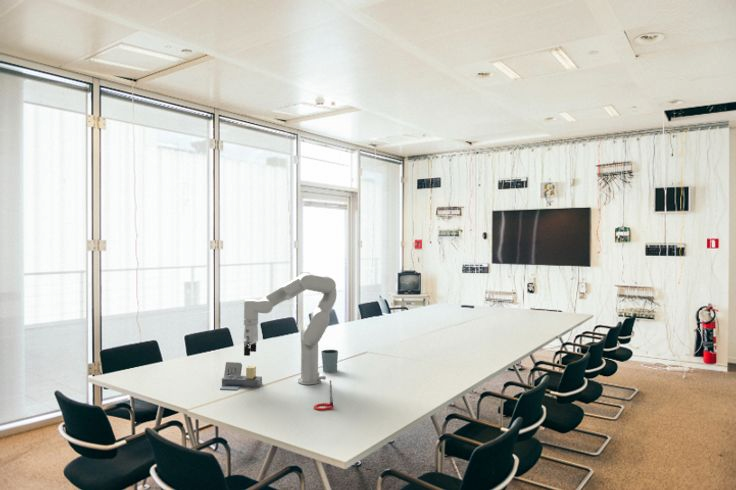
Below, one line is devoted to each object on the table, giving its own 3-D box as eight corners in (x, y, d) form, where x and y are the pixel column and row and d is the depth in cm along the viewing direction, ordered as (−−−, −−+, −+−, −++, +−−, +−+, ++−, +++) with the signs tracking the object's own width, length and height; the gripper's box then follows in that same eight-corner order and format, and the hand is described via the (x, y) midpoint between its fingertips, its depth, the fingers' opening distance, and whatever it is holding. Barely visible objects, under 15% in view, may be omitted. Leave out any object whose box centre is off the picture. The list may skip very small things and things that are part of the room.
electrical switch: (223, 379, 280) (224, 362, 280) (227, 377, 285) (228, 361, 285) (238, 380, 278) (239, 363, 279) (242, 378, 283) (243, 362, 284)
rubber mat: (240, 387, 263) (240, 386, 263) (236, 390, 258) (236, 389, 258) (223, 386, 264) (223, 385, 264) (220, 389, 259) (220, 388, 259)
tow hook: (313, 412, 228) (333, 410, 229) (312, 384, 228) (332, 382, 228) (313, 406, 236) (333, 404, 237) (312, 379, 236) (332, 378, 237)
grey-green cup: (335, 373, 292) (335, 353, 292) (319, 372, 294) (319, 352, 294) (339, 369, 302) (339, 349, 302) (324, 368, 304) (324, 348, 304)
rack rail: (262, 383, 270) (262, 376, 270) (257, 387, 263) (257, 380, 263) (226, 382, 272) (226, 375, 272) (221, 386, 266) (221, 378, 265)
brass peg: (255, 384, 269) (255, 366, 269) (253, 386, 265) (253, 368, 265) (248, 384, 270) (248, 366, 270) (246, 386, 266) (246, 367, 266)
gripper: (252, 325, 258) (251, 357, 258) (262, 320, 275) (261, 350, 275) (238, 324, 259) (237, 356, 259) (249, 319, 276) (248, 349, 276)
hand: (250, 353), depth 267 cm, fingers open, 9 cm apart
